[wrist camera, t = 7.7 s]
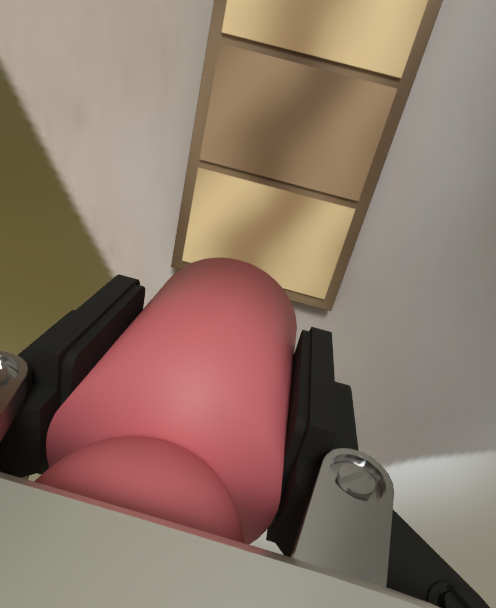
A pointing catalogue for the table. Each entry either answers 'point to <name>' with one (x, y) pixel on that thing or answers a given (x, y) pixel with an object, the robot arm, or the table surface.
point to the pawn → (187, 406)
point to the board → (296, 133)
